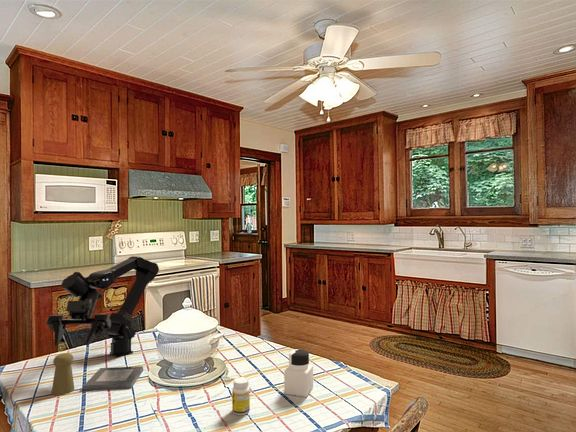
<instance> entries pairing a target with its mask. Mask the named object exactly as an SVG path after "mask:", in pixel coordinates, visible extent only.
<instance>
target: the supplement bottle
mask: <svg viewBox="0 0 576 432" xmlns="http://www.w3.org/2000/svg"><path fill="white" fill-rule="evenodd" d="M249 384H250V383H249V379H248V378H247V377H243V376H242V377H241V376H240V377H237V378H235V379H233V387H232V388H231V389H232V390H231V391H232V395H231V396H232V397H231V399H232V401H231V403H232V405H231V406H232V407H231V408H232V409H231V411H232V413H233V414H234V415H237V416H245V415H247V414H249V413H250V411H251V406H250V405H251V404H250V403H251V402H250V401H251V394H250V393H251V387H250V386H249Z"/></svg>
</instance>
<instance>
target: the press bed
mask: <svg viewBox="0 0 576 432" xmlns="http://www.w3.org/2000/svg"><path fill="white" fill-rule="evenodd" d="M143 372H144V366H143V365H142V366H141V365H140V366H139V365H138V366H121V367H120V366H119V367H118V366H117V367H115V366H114V367H100V368H99V369H98V370H97V371H96V372H95V373H94V374H93V375H92V376H91V377H90V379H89V380H87V381H86V382H85V384H83V391H84V392H85V391H100V390H101V391H103V390H104V391H105V390H122V389H124V390H125V389H132V388H133V387H134V385H135V384H136V383H137V380H138V379H139V378H140V376H141V374H142V373H143Z"/></svg>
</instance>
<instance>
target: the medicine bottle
mask: <svg viewBox="0 0 576 432" xmlns="http://www.w3.org/2000/svg"><path fill="white" fill-rule="evenodd" d="M283 371H284V373H283V376H284V377H283V378H284V381H283V382H284V383H283V384H284V387H283V388H284V390H283V393H284V394H285V395H291V396H295V395H296V397H301V396H302V397H304V398H307V397H308V396H309V394H310V393H311V391H312V390H313V388H314V365H313V364H310V353H309V351H307V350H305V349H301V348H300V349H299V348H297V349H293V350H291V351H289V353H288V366H287V367H286V368H285V369H284V370H283ZM302 397H301V398H302Z"/></svg>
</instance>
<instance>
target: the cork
mask: <svg viewBox="0 0 576 432" xmlns="http://www.w3.org/2000/svg"><path fill="white" fill-rule="evenodd" d="M52 362H53V365H54V367H55V368H54V372H53V373H54V374H53V379H52V380H53V381H52V387H51V392H50V393H51V395H53V396H64V395H67V394H70V393H72V392H73V391H75V384H74V383H75V381H74V375H73V368H72V364H73V362H74V355H73V354H72V353H69V352H65V353H59V354H57V355H55V357H54V358H53V361H52Z"/></svg>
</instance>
